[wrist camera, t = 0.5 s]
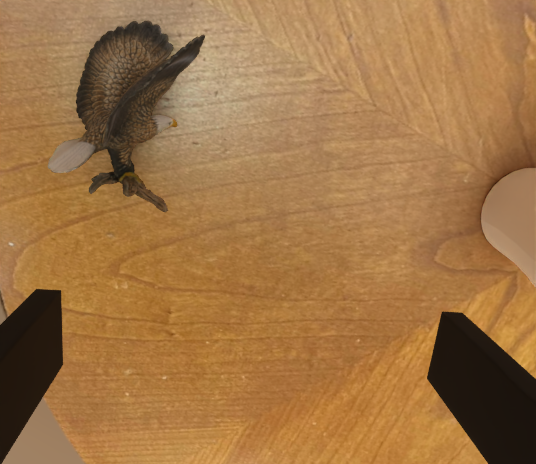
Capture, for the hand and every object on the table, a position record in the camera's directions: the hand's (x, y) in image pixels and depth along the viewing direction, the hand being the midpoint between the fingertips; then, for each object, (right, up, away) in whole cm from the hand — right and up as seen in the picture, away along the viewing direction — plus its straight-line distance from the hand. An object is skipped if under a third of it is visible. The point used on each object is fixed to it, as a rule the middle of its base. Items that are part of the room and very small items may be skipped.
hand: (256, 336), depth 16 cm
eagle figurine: (-7, +11, +11) cm, 17 cm away
